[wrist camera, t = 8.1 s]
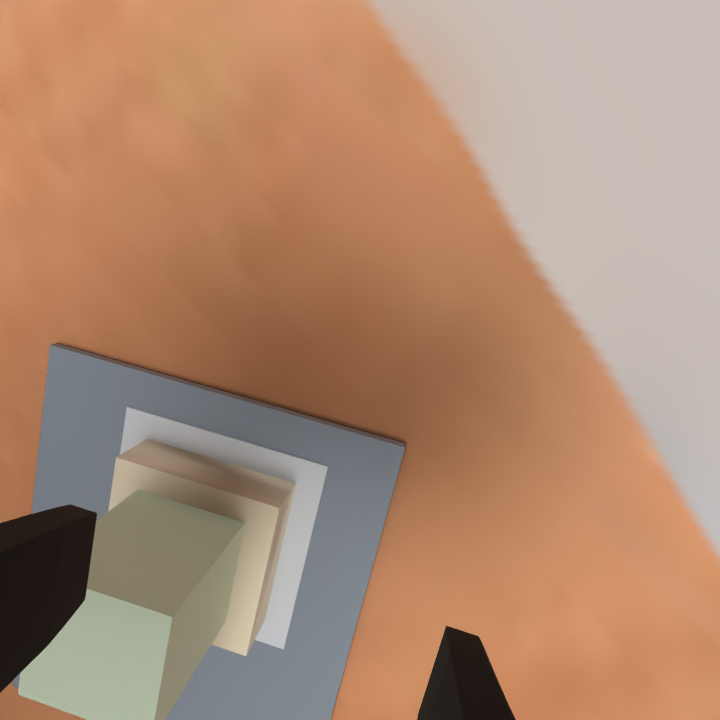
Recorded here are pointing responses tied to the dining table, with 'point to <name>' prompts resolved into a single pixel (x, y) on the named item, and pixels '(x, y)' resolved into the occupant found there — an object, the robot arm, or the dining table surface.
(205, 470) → the base block
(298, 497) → the building mat
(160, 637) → the green block
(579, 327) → the dining table surface
